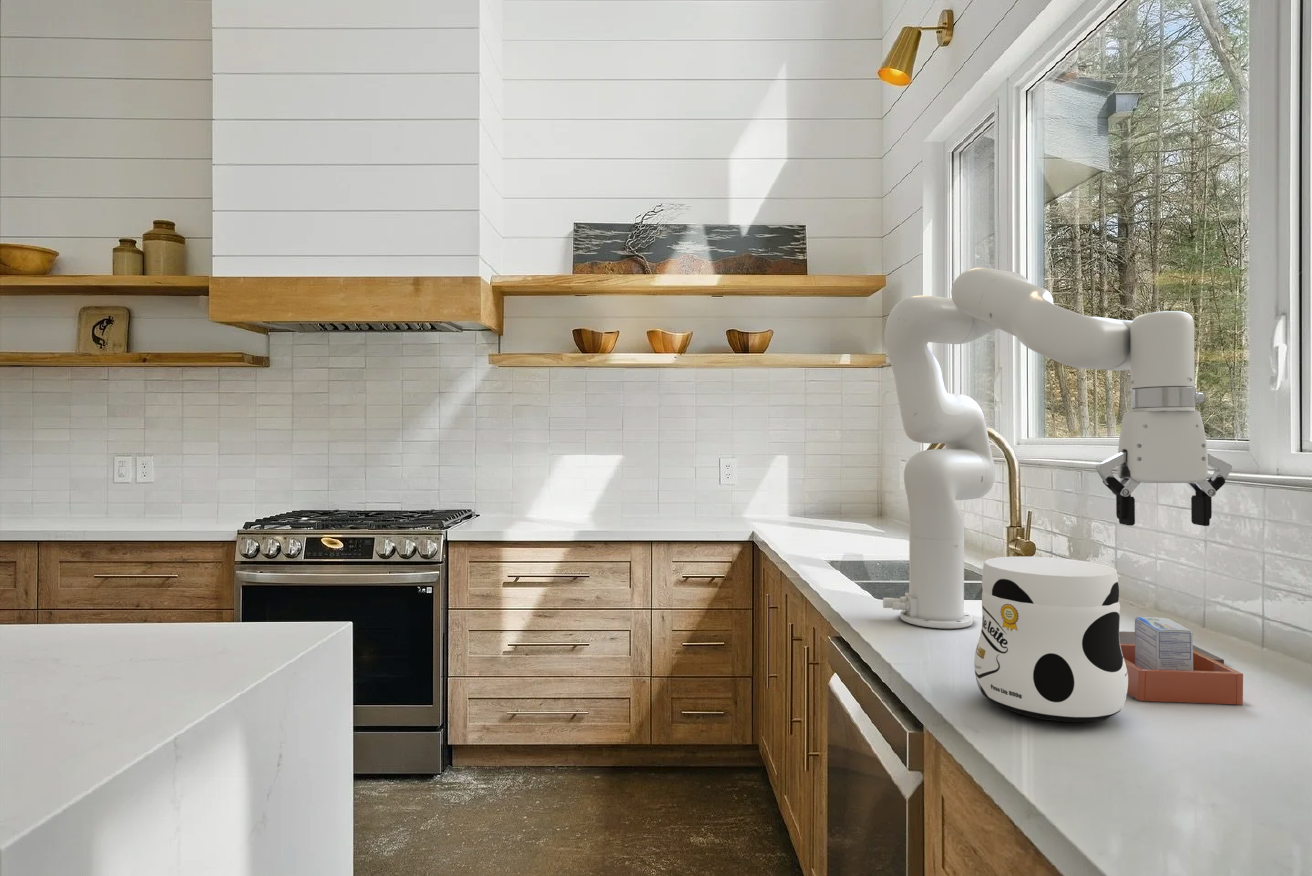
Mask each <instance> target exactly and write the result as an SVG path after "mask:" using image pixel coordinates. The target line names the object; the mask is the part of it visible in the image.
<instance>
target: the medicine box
mask: <svg viewBox="0 0 1312 876" xmlns="http://www.w3.org/2000/svg"><path fill="white" fill-rule="evenodd" d="M1134 632H1135V665H1136V666H1138V667H1140V668H1141V669H1161V670H1191V671H1193V645H1194V637H1193V631H1192V630H1191V629H1189V628H1187V627H1186V626H1183V625H1182V624H1180V623H1178V622H1175V620H1172V619H1170V618H1168V617H1158V616H1139V617H1138V616H1137V617H1135V618H1134Z"/></svg>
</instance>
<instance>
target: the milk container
mask: <svg viewBox="0 0 1312 876" xmlns="http://www.w3.org/2000/svg"><path fill="white" fill-rule="evenodd" d="M981 573H982V574H981V589H982V593H981V614H982V615H981V616H982V618H981V619H982V620H981V621H982V622H981V631H980V634H979V638H978V642H977V645H976V648H975V652H974V658H973V659H974V660H973V664H974V665H973V667H974V675H975V681H976V685H977V687H978V690H979V691H980V693H981V694H982V695H983V697H985V698H986V699H987V700H988V701H990V702H991V703H993V704H995V705H997V706H998V707H1000V708H1002V709H1005V710H1007V711H1010V712H1013V713H1016V714H1019V715H1023V716H1026V717H1032V718H1036V719H1040V720H1044V721H1045V720H1046V721H1056V722H1063V723H1076V722H1077V723H1090V722H1097V721H1102V720H1103V721H1104V720H1108V719H1109V718H1111V717H1113V716H1116V715H1117V714H1118V713H1120V712H1121V710H1122V709H1123V708H1124V706H1125V703H1126V699H1127V696H1128V693H1127V689H1128V672H1127V668H1126V664H1125V661H1124V657H1123V654H1122V650H1121V646H1120V638H1119V631H1120V624H1121V623H1120V622H1121V604H1120V601H1119V599H1120V585H1119V575H1118V570H1117V568H1115V567H1113V566H1110V565H1107V564H1101V563H1098V562H1094V561H1086V560H1079V559H1071V558H1062V557H1052V556H1051V557H1049V556H1030V555H1029V556H1023V555H1022V556H1020V555H1019V556H998V557H997V556H996V557H993V558H987V559H986V560H985V561H984V563H983V565H982V572H981Z"/></svg>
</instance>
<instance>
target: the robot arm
mask: <svg viewBox="0 0 1312 876" xmlns="http://www.w3.org/2000/svg"><path fill="white" fill-rule="evenodd" d="M950 291H951V292H950V293H951V294H950V295H951V297H943V296H937V295H926V294H925V295H921V294H920V295H912V296H908V297H904V298H903V299H901V300H900V301H898V302H897V303H896V304H895V305H894V307H893V308H892V309H891V311H890V312H889V314H888V316H887V319H886V322H885V326H884V345H885V350H886V354H887V357H888V359H889V363H890V366H891V369H892V373H893V377H894V382H895V389H896V395H897V399H898V400H897V401H898V406H899V411H900V417H901V421H902V422H901V423H902V426H903V430H904V433H905V435H906V436H907V437H908V438H909V439H910V440H911V441H912V442H915V443H920V444H944V447H945V448H934V449H933V448H932V449H925V450H921V451H919V452H917V453H915V454H913V455H912V456H911V457H910V458H909V459H908V461H907V462H906V464H905V466H904V470H903V484H904V489H905V493H906V494H905V495H906V499H907V505H908V506H907V507H908V523H909V524H908V526H909V527H908V532H909V533H908V535H909V541H908V542H909V544H908V545H909V547H908V549H909V551H908V553H909V555H908V559H909V561H908V565H909V566H908V573H909V574H908V592H905V593H904V596H900V597H899V598H895V597H883V598H882V608H883V609H891V610H893V611H899V610H900V619H901V620H902V621H903V622H905V623H908V624H911V625H914V626H918V627H923V628H932V629H947V630H948V629H963V628H964V629H965V628H968V627H971V626H973V624H974V617H973V616H972V615H971V614H970V613H968V612H965V524H964V519H963V516H962V513H961V510H960V509H959V506H958V504H957V501H967V500H976V499H980V498H982V497H985V496H986V495H987V494H988V493H990V492H991V490H992V488H993V487H994V483H995V477H996V470H995V469H996V468H995V461H994V457H993V453H992V447H991V442H990V437H989V432H988V427H987V422H986V419H985V416H984V415H985V414H984V412H983V410H982V409H981V407H980V405H979V404H978V402H977V401H976V400H974V399H973V398H972V397H970V396H968V395H966V394H961V393H949V392H947V389H946V386H945V383H944V382H945V381H944V379H943V373H942V368H941V366H940V363H939V361H938V360H937V358H936V356H935V355H934V354H933V352H932V351H931V349H930V348H929V346H928V343H935V344H948V345H964V344H968V343H971V342H974V341H975V340H978V339H980V338H982V337H984V336H986V335H988V334H991V333H992V332H994V331H997V330H1000V331H1003V332H1005V333H1007V334H1009V335H1012V336H1014V337H1016V338H1017V340H1018V341H1019V342H1020V343H1021V344H1022V345H1023V346H1024V347H1026V348H1028V349H1029V350H1031V351H1033V352H1035V353H1037V354H1039V355H1041V356H1044V357H1046V358H1049V359H1050V360H1053V361H1055V362H1057V363H1060V364H1062V365H1065V366H1067V367H1070V368H1071V367H1072V368H1075V369H1084V370H1100V371H1115V372H1120V371H1121V372H1122V371H1128V370H1130V411H1127V412H1124V413H1123V416H1122V421H1121V427H1120V432H1119V438H1118V447H1117V453H1116V454H1115V455H1113V456H1111V457H1109V458H1107V459H1105V460H1103V461H1101V462H1099V463H1097V464H1096V465H1095V470H1096V471H1097V473H1098V475H1099V477H1100V479H1102V483H1103V484H1104V485H1105V487H1107V489H1109V490H1110V491H1111V493H1112V494H1113V495H1114V496H1115V513H1116V514H1115V515H1116V518H1117V519H1118V523H1119V524H1120V525H1124V526H1129V527H1131V526H1135V525H1136V499H1135V497H1134V496H1132V493H1133V492H1134V491H1135V490H1136V488H1137V487H1138V486H1139V485H1140V484H1187V485H1188V486H1189V488H1191V490H1192V491H1193V492H1194V493H1195V494H1194V495H1192V496H1191V497H1190V507H1191V509H1190V510H1191V511H1190V513H1191V515H1190V516H1191V517H1190V518H1191V519H1190V521H1191V524H1193V525H1195V526H1202V527H1209V526H1210V524H1211V519H1212V516H1213V514H1212V513H1213V511H1212V509H1213V507H1212V498H1213V497H1215V496H1216V495H1217V492H1218V491H1219V490H1220V489H1221V488H1222V487H1223V486H1224V485H1225V484H1226V479H1228V477H1229V475H1230V473H1231V471H1232V469H1233V465H1232V464H1231V463H1229V462H1227V461H1225V460H1223V459H1220V458H1218V457H1216V456H1214V455H1212V454H1210V453H1209V452H1208V447H1207V436H1206V431H1205V426H1204V422H1203V418H1202V414H1201V412H1200V410H1196V407H1197V404H1201V403H1204V401H1205V397H1206V396H1205V394H1204V393H1203V392H1198V391H1197V388H1196V384H1195V383H1196V382H1195V381H1196V379H1195V377H1196V376H1195V375H1196V374H1195V373H1196V368H1195V367H1196V366H1195V361H1196V360H1195V357H1196V356H1195V355H1196V354H1195V321H1194V318H1193V316H1192V315H1191V314H1190V313H1188V312H1186V311H1181V310H1179V311H1178V310H1166V311H1164V310H1163V311H1155V312H1147V313H1143V314H1140V315H1137V316H1135V317H1134V318H1133V320H1126V319H1117V318H1109V317H1101V316H1100V317H1099V316H1090V315H1086V314H1082V313H1079V312H1075V311H1073V310H1070V309H1067V308H1065V307H1063V306H1060V305H1057V304H1054V299H1053V296H1052V294H1051V292H1050V291H1049V290H1047V289H1046V288H1044V287H1041V286H1038V285H1036V284H1033V283H1031V282H1030V281H1029V280H1028V279H1027V278H1026V277H1025V276H1024V275H1023V274H1020V273H1018V272H1015V271H1010V270H1003V269H998V268H997V269H996V268H990V267H973V268H970V269H967V270H965V271H964V272H962V273H961V274H959V275H958V276H957V277H956V278H955V280H954V281H953V283H952V286H951V290H950ZM1209 467H1210V468H1212V469H1213V474H1212V476H1211V477H1209V478H1208V479H1207V477H1208V472H1209V471H1208V470H1209V469H1208V468H1209ZM1114 468H1117V470H1116V471H1117V476H1118V478H1119V479H1120V480H1118V479H1117V478H1116V477H1115V476H1114V473H1113V469H1114Z"/></svg>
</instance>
